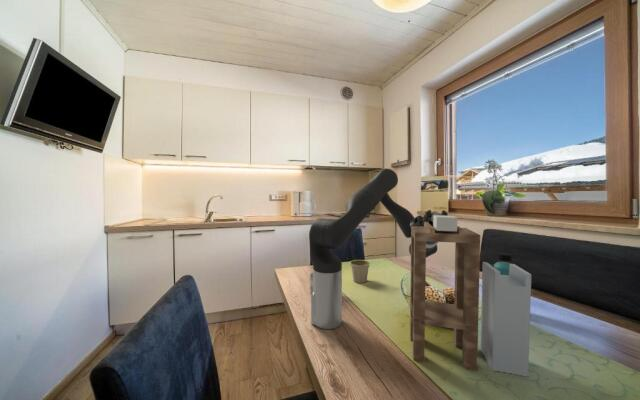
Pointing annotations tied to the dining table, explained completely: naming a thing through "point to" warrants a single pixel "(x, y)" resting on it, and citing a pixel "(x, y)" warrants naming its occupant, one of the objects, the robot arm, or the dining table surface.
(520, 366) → the box
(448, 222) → the light grey bar
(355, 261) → the flower pot
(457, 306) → the walnut stand
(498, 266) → the beverage bottle
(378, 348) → the dining table surface
